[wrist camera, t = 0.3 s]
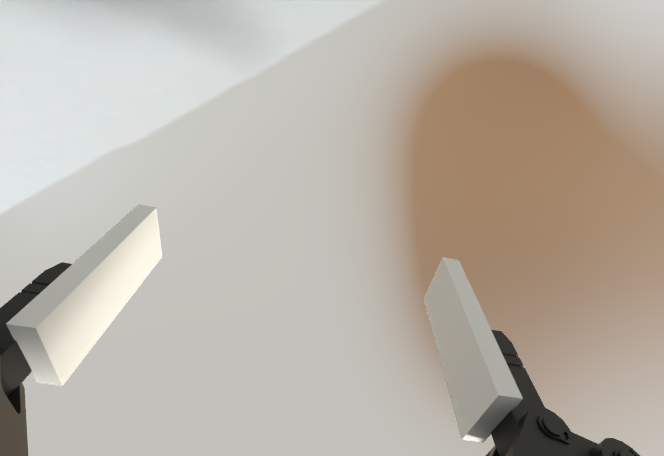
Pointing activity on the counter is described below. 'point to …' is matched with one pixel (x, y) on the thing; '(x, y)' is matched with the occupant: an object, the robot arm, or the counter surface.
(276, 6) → the counter surface
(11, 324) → the robot arm
